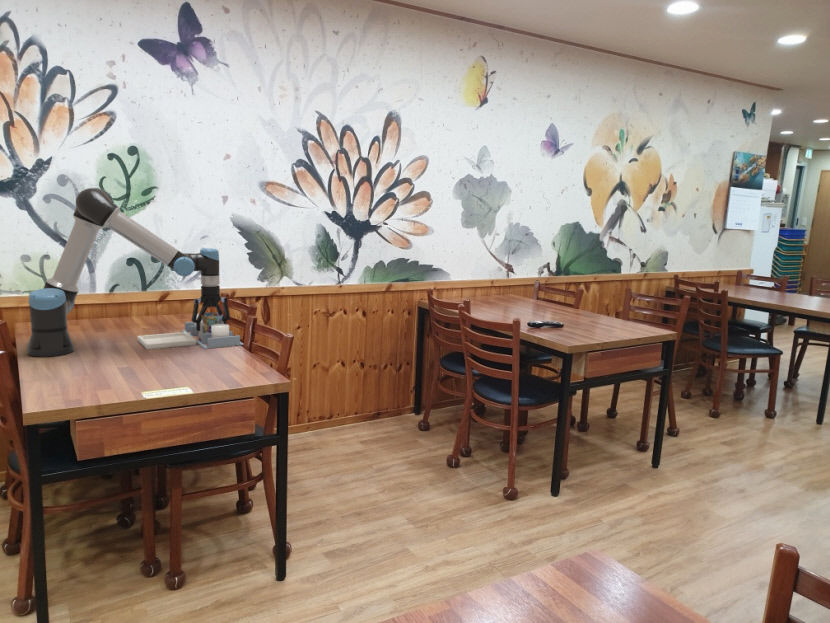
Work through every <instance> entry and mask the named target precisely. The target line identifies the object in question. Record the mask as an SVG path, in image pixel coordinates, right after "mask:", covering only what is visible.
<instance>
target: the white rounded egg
mask: <svg viewBox="0 0 830 623" xmlns="http://www.w3.org/2000/svg"><path fill="white" fill-rule="evenodd" d="M229 331H230V324H227V323H226V324H214V325H211V334H212V338H217V337H227V336H229Z"/></svg>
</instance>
